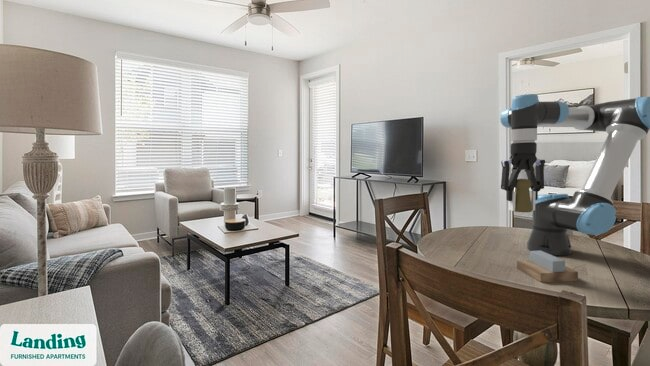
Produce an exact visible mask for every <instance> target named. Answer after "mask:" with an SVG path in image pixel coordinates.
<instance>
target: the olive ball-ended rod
mask: <svg viewBox="0 0 650 366" xmlns="http://www.w3.org/2000/svg"><path fill="white" fill-rule="evenodd" d="M530 189H531V181H530V180H528V178H517V181H516V184H515V187H514V192H516V198H515V211H514V212H515V213H533V210H532V208H531V200H530V191H529V190H530Z"/></svg>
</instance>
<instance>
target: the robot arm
mask: <svg viewBox="0 0 650 366" xmlns="http://www.w3.org/2000/svg"><path fill="white" fill-rule="evenodd" d="M500 123H501V125H502V126H503V127H505V128H510V141H511V142H512V143H511V144H510V157H509V159H507V160H501V161H500V164H501V167H502V170H501V180H500V190H504V191H506V201H508V211H512V212H515V198H516V192H515V184H516V181H517V179H519V175H520V173H521V171H523V170H524V172H525V174H526V177H527V179H528V180H530V181H531V187H530V189H529V191H530V200H531V208H532V228H531V229H532V230H531V232H530V235H529V237H528V240H527V242H526V249H528V250H529V251H540V250H541V251H543V252H545V253H548V254H550V255H553V256H569V255H571V254H572V251H573V250H572V249H573V247H572V244H571V240H570V239H569V236H568V230H570V231H573V232H574V231H575V232H577V233H581V234H584V235H594V236H599V235H602V234H605V233H607V232H609V231H610V230H611V229H612V228H613V226H614V225H615V223H616V219H617V216H616V215H617V210H616V208H615V207H614V202H613V200H612V198H611V197H612V196H613V193H614V191H615V188H616V186H617V185H618V183H619V181H620V179H621V176H622V175H623V172H624V170H625V168H626V166H627V164H628V162H629V160H630V158H631V156H632V153H633V152H634V149H635V147H636V145H637V143H638V141H641V140H643V139H645V138H646V137H647V135H648V133H649V132H650V96H638V97H636V98H628V99H627V98H626V99H621V100H614V101H606V102H601V103H600V102H599V103H595V104H588V105H580V106H578V107H569V106H568V104H566V103H565V102H562V101H557V100H553V101H539V95H538V94H536V93H528V94H527V93H525V94H519V95H516V96H514V97H513V98H512V100H511V106H510V108H509V107H508V108H505V109H504V110H503V111H502V112H501V114H500ZM538 128H573V129H575V130H579V131H582V130H583V131H593V132H603V133H604V132H606V134H607V136H606V139H605V141H604V143H603V145H602V147H601V149H600V150H599V151H600V152H599V153H598V155H597V158H596V159H595V162H594V163H593V165H592V167H591V169H590V171H589V173H588V176H587V178H586V180H585V182H584V184H583V187H581V189H579V190H576V191H574V193H573V196H572V197H571V198H570V195H569V194H568V193H545V194H544V193H543V194H539V192H540V191H541V190H544V189H545V170H544V166H545V164H546V160H545V159H540V158H537V156H536V155H537V148H538V147H537V144H538V143H537V142H536V141H537V140H538ZM511 165H512V168H511ZM534 165H535V169H534ZM510 170H511V173H510Z"/></svg>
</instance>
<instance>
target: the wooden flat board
mask: <svg viewBox="0 0 650 366" xmlns="http://www.w3.org/2000/svg"><path fill="white" fill-rule="evenodd" d="M516 270H518V271H520V272H521V273H524V274H525V275H527V276H528V277H530V278H532V279H534V280H535V281H538V282H539V283H555V282H556V283H557V282H559V281H560V282H577V281H578V280H579V272H578V271H577V270H575V269H572V268H570V267H569V266H566V265H565V272H551V271H549V270H547V269H545V268H543V267H541V266H539V265H537V264H535V263H533V262H531V261H529V259H528V260H516Z"/></svg>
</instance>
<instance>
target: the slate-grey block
mask: <svg viewBox="0 0 650 366" xmlns="http://www.w3.org/2000/svg"><path fill="white" fill-rule="evenodd" d="M528 258H529V259H528V260H529V261H531V262H533V263H535V264H537V265H539V266H541V267H543V268H545V269H547V270H549V271H551V272H565V266H566V260H564V259H562V258H559V257H557V256H556V255H550V254H548V253H545V252H543V251H541V250H540V251H531V250H529V257H528Z"/></svg>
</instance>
